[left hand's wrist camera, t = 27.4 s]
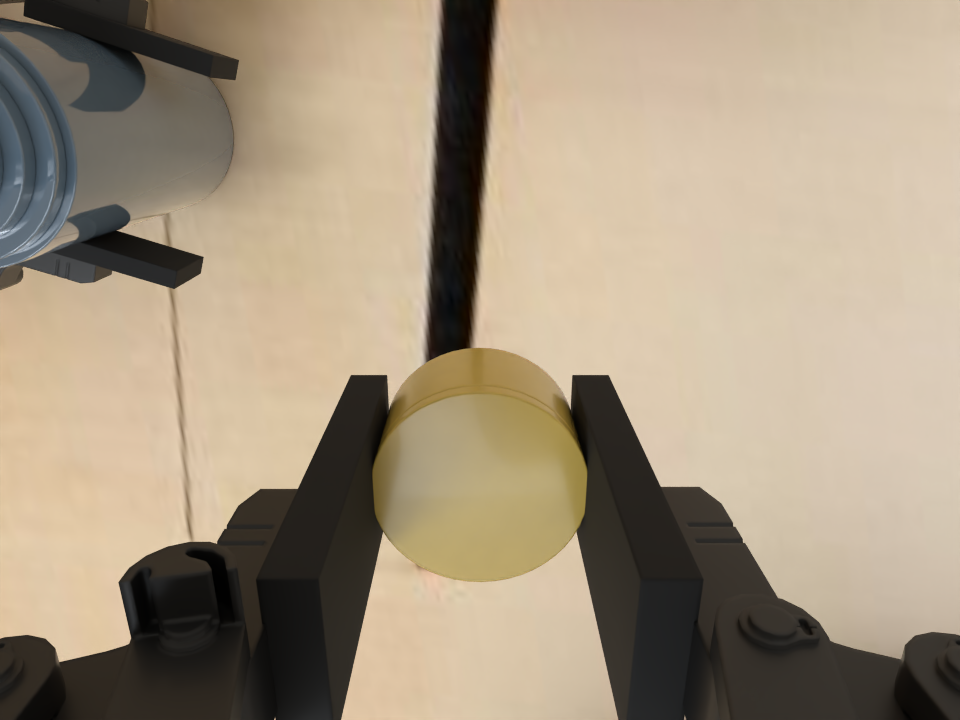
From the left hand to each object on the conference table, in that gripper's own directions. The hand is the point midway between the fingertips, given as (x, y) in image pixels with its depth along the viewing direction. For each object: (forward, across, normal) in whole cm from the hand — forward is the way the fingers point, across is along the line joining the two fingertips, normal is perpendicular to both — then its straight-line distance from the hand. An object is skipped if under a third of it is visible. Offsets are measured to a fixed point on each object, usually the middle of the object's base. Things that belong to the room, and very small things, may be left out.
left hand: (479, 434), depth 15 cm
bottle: (+21, +15, -5) cm, 27 cm away
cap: (-2, 0, 0) cm, 2 cm away
